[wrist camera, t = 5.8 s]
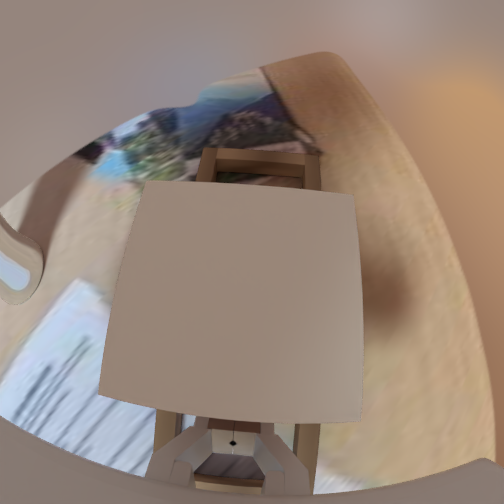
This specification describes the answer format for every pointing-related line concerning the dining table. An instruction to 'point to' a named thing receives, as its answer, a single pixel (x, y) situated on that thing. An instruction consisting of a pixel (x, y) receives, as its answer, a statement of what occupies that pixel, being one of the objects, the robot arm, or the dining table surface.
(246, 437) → the robot arm
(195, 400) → the block
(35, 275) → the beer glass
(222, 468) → the dining table surface
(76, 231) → the dining table surface
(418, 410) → the dining table surface
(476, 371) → the dining table surface
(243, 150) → the open rectangular frame
